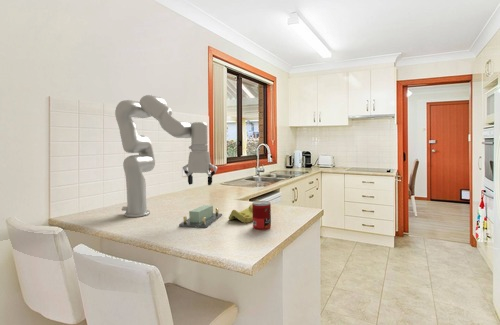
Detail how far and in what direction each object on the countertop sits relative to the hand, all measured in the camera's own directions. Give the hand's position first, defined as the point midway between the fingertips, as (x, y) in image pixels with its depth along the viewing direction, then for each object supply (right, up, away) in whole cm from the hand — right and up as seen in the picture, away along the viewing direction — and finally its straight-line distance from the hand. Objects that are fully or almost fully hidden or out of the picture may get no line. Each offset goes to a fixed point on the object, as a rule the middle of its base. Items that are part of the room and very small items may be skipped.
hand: (200, 184), depth 141 cm
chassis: (+1, -17, +1) cm, 18 cm away
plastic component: (+24, -17, +4) cm, 30 cm away
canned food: (+29, -18, -13) cm, 36 cm away
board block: (+1, -16, +1) cm, 17 cm away
